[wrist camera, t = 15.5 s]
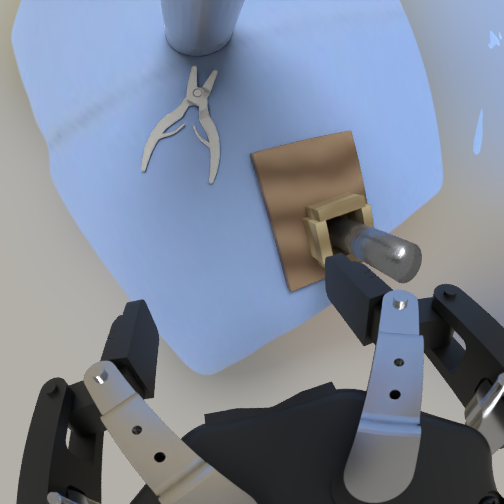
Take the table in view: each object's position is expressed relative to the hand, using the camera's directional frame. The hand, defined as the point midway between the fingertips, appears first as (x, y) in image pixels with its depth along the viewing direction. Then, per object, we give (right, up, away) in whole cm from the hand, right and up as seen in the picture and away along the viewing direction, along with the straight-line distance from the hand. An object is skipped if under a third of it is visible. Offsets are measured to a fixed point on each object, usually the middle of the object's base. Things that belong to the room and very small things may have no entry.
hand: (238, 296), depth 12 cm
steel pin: (+12, +5, +27) cm, 30 cm away
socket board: (+10, +8, +27) cm, 30 cm away
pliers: (-7, +19, +21) cm, 29 cm away
